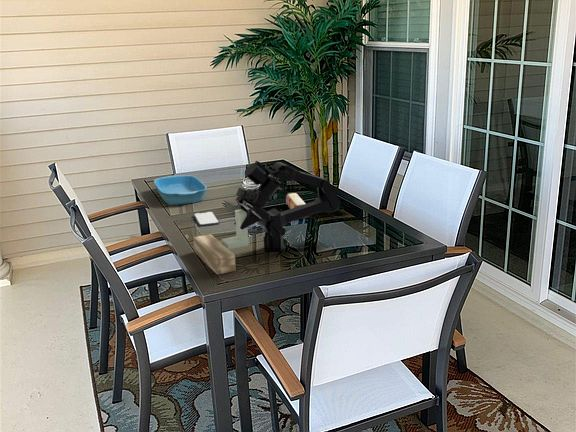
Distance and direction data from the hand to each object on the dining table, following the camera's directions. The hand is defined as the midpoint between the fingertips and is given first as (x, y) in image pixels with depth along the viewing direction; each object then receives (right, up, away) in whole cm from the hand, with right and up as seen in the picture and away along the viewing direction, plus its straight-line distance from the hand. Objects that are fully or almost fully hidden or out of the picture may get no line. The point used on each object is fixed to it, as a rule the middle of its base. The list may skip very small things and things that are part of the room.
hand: (238, 226), depth 206 cm
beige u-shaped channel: (-8, -12, -1) cm, 15 cm away
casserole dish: (-35, +13, +81) cm, 89 cm away
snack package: (+22, +5, +53) cm, 57 cm away
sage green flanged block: (-1, -7, +1) cm, 7 cm away
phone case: (-17, +1, +44) cm, 47 cm away
